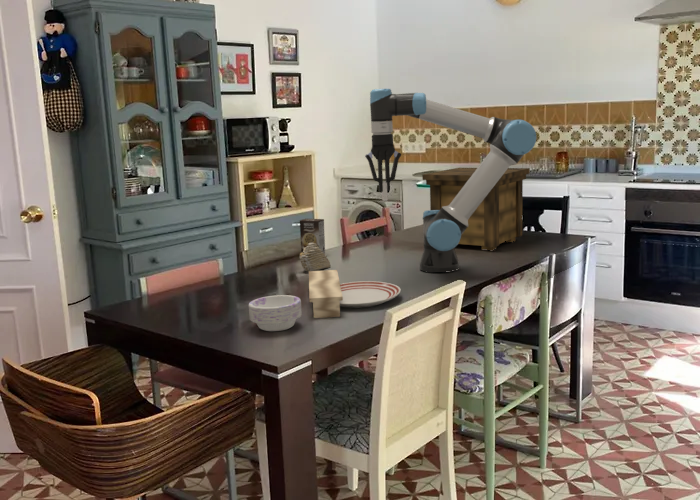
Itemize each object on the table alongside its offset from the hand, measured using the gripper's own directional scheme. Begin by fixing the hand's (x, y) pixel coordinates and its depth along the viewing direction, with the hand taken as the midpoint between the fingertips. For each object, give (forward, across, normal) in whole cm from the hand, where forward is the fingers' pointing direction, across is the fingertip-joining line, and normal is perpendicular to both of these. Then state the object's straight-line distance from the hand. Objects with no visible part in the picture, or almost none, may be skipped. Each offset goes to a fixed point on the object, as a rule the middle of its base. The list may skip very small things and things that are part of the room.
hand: (384, 200), depth 249 cm
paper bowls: (+29, -41, -49) cm, 70 cm away
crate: (+30, +50, +55) cm, 80 cm away
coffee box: (+29, -24, +52) cm, 64 cm away
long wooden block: (+29, -25, -24) cm, 45 cm away
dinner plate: (+30, -14, -26) cm, 41 cm away
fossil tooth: (+29, -25, +24) cm, 45 cm away
